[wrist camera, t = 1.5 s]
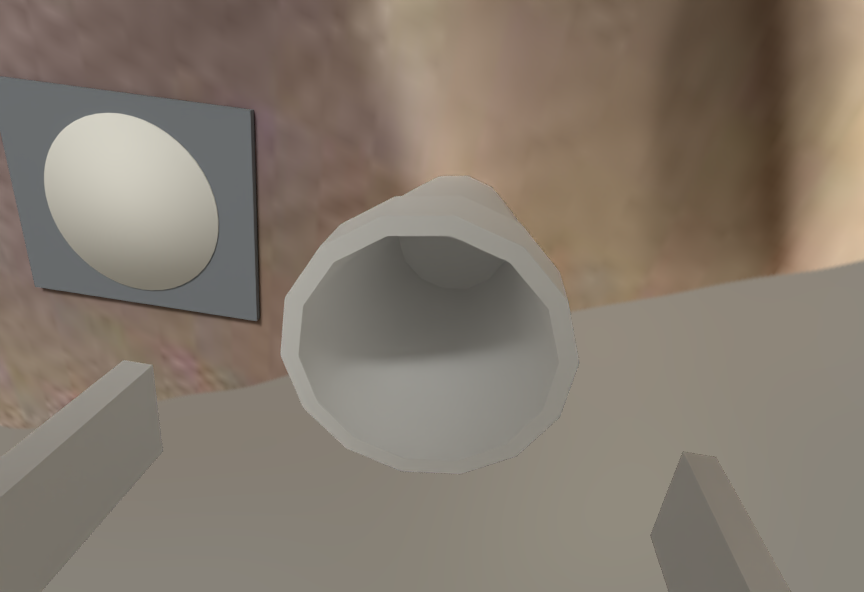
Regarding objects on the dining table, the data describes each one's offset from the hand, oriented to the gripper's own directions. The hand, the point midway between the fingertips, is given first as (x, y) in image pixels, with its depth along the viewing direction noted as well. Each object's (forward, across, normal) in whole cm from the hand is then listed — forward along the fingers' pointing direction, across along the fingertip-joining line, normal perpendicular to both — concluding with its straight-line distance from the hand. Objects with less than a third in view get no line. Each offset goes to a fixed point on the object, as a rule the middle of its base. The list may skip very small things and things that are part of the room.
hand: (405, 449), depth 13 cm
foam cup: (+17, 0, 0) cm, 17 cm away
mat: (+17, -18, 0) cm, 25 cm away
